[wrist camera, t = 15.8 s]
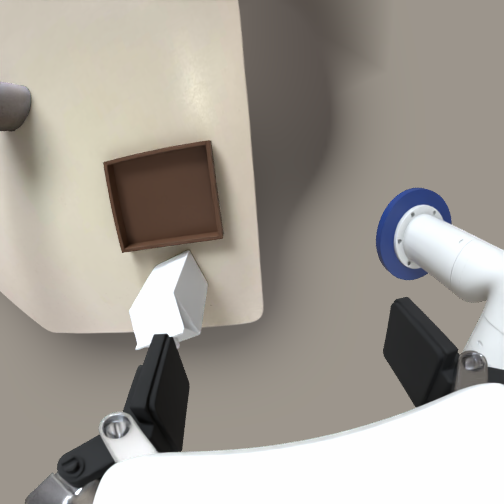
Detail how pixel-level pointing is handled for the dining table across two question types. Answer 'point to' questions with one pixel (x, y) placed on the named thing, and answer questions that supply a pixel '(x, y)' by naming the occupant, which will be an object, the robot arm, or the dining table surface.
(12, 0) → the dining table surface
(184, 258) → the milk carton
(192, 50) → the dining table surface
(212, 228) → the tray
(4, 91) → the pillar candle
